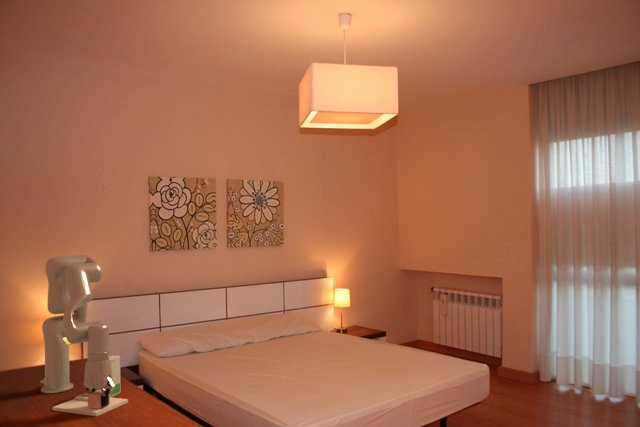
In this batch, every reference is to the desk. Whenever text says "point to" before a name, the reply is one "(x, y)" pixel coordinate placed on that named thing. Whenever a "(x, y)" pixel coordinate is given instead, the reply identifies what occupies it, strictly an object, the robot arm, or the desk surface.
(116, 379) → the skincare box
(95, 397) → the stub
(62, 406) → the ticket board
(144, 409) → the desk surface
